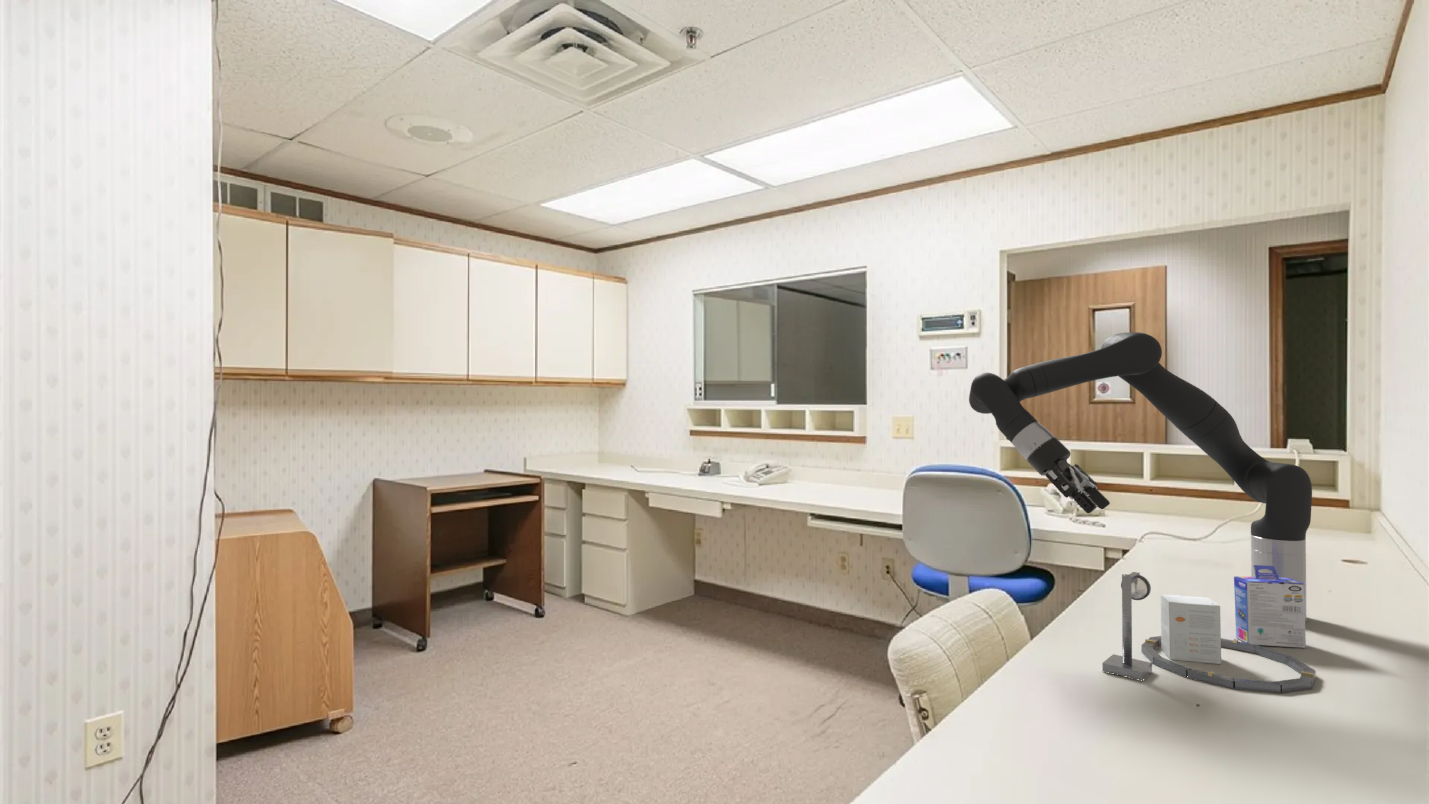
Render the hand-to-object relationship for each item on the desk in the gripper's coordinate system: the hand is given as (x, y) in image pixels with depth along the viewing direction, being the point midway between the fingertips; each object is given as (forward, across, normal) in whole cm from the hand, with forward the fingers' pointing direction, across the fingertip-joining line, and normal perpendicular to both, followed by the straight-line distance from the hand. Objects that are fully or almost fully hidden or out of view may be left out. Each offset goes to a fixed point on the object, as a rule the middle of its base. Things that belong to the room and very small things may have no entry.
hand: (1099, 508), depth 138 cm
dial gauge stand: (+24, -16, +11) cm, 31 cm away
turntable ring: (+32, -2, +3) cm, 32 cm away
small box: (+29, -2, +7) cm, 30 cm away
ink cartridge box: (+35, +18, 0) cm, 40 cm away
